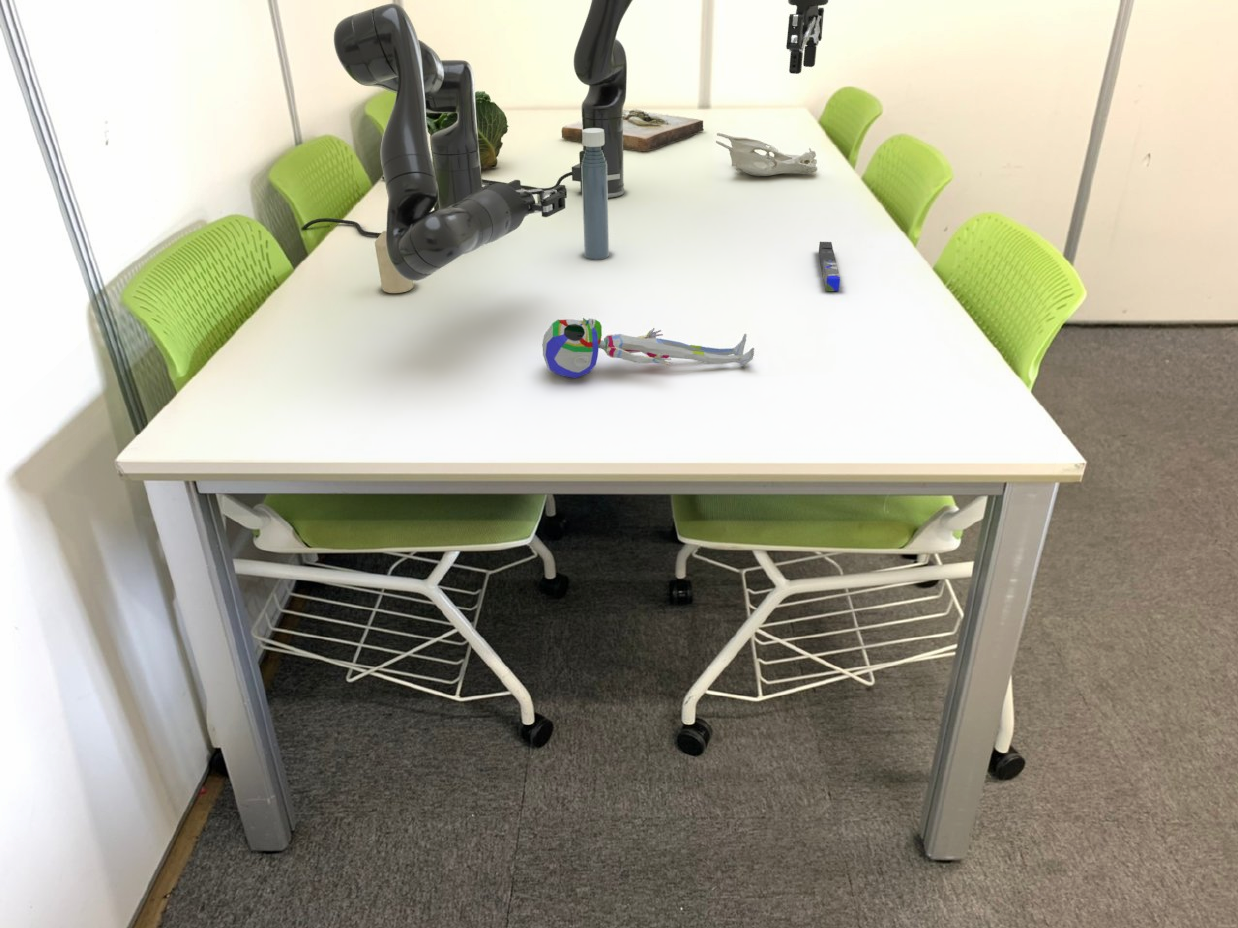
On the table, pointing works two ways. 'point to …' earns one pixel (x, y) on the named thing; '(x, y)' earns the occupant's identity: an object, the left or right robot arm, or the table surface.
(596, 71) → the right robot arm
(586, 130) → the cap
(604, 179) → the bottle
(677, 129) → the plaque
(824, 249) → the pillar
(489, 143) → the vegetable
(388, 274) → the candle
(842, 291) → the table surface
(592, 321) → the toy
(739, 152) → the anatomical model
